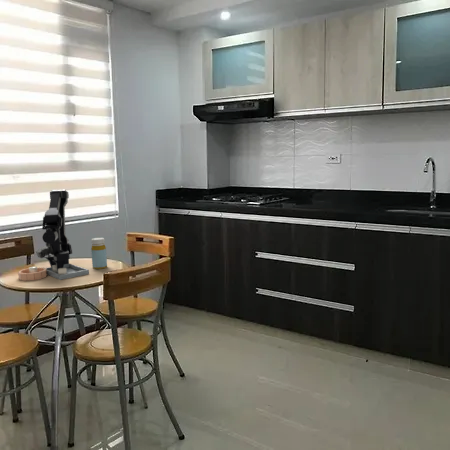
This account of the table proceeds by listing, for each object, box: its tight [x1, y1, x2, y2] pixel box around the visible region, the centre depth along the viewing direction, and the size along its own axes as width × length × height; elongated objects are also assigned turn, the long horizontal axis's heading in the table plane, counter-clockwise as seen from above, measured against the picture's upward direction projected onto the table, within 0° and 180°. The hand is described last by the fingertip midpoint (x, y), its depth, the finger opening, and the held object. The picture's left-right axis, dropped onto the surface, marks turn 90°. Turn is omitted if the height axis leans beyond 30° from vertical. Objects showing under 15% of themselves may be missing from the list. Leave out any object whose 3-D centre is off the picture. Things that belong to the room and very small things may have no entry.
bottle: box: [90, 237, 108, 270], centre depth 236 cm, size 7×7×15 cm
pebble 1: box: [28, 266, 38, 273], centre depth 223 cm, size 4×4×4 cm
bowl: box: [17, 266, 48, 281], centre depth 221 cm, size 12×12×4 cm
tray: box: [45, 263, 90, 280], centre depth 227 cm, size 20×14×2 cm
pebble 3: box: [58, 268, 67, 275], centre depth 220 cm, size 4×4×4 cm
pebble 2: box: [52, 265, 58, 274], centre depth 227 cm, size 4×4×4 cm
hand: (56, 272), depth 227 cm, fingers open, 6 cm apart
